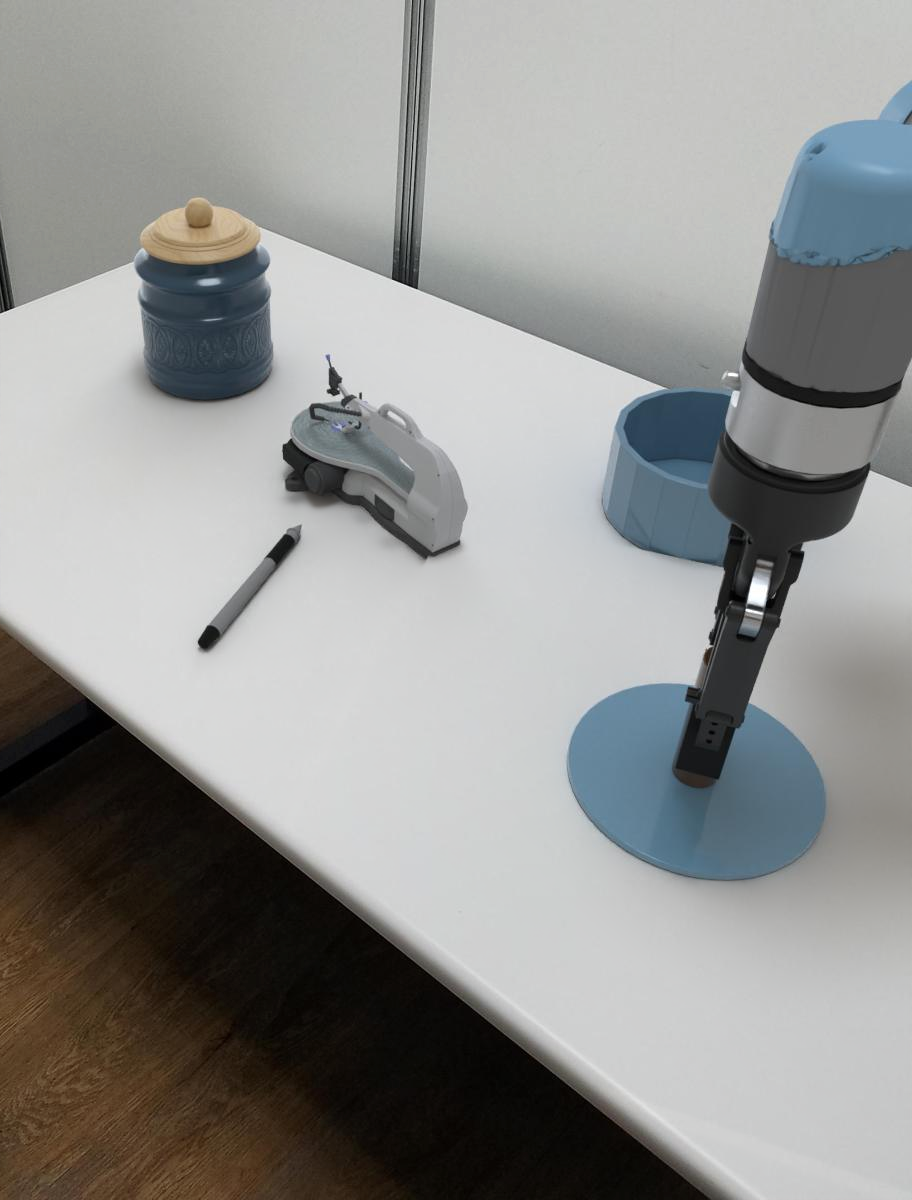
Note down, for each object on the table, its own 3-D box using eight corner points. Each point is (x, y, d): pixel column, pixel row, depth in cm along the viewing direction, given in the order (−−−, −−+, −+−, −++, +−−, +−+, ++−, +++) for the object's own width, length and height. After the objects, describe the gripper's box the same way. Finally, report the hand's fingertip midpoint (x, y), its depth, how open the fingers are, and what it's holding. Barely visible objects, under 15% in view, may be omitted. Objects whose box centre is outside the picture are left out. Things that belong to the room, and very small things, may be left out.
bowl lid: (828, 730, 82) (877, 609, 75) (812, 920, 70) (869, 798, 63) (592, 671, 87) (617, 551, 79) (541, 840, 75) (564, 718, 68)
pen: (195, 648, 89) (194, 635, 88) (295, 528, 100) (294, 515, 99) (210, 653, 88) (209, 640, 87) (309, 532, 99) (308, 519, 99)
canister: (155, 337, 125) (138, 171, 114) (277, 339, 125) (273, 172, 113) (136, 401, 115) (116, 227, 104) (269, 403, 115) (263, 229, 103)
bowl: (794, 479, 105) (817, 406, 100) (779, 585, 94) (804, 509, 89) (619, 445, 109) (633, 373, 104) (585, 542, 98) (599, 467, 93)
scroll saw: (514, 425, 92) (396, 472, 87) (501, 533, 99) (391, 582, 94) (365, 324, 105) (255, 361, 100) (363, 426, 112) (259, 465, 107)
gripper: (738, 357, 68) (662, 655, 83) (701, 514, 56) (620, 825, 72) (878, 380, 66) (773, 682, 81) (868, 548, 54) (748, 861, 70)
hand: (701, 748), depth 76 cm, fingers closed on bowl lid, 3 cm apart
